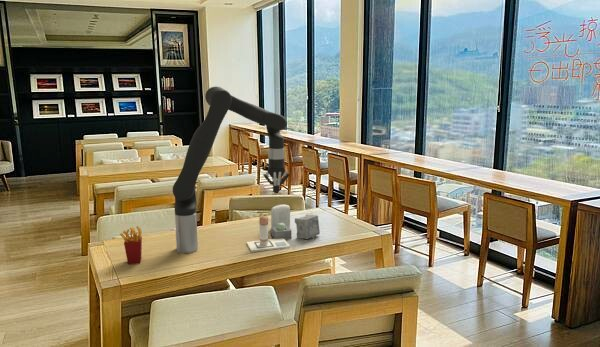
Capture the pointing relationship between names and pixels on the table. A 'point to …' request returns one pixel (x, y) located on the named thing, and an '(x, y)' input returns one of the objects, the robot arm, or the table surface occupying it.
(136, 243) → the french fries
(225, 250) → the table surface
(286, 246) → the sheet
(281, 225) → the button
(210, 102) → the robot arm
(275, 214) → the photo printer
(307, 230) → the grey stone block
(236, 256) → the table surface
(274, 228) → the button housing
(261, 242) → the marker
